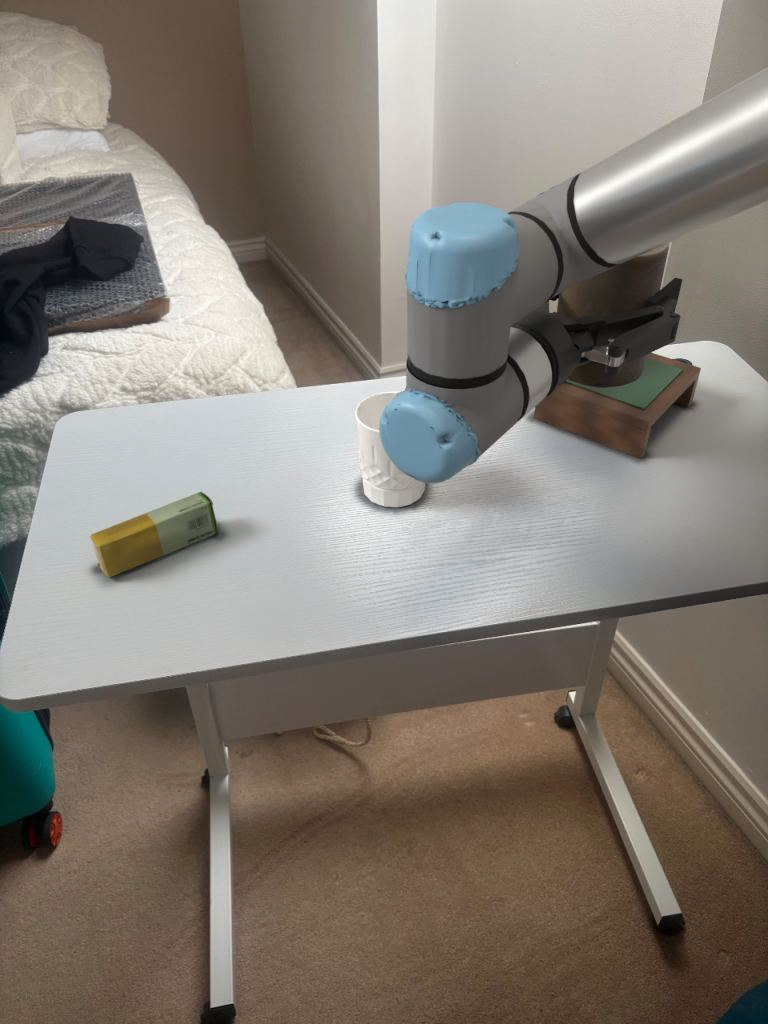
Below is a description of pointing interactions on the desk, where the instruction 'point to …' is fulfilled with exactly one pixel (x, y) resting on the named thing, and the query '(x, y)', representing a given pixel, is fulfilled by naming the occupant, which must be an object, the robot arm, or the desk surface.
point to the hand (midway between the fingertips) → (627, 278)
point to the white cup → (381, 458)
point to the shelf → (621, 405)
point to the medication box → (154, 534)
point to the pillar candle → (614, 308)
